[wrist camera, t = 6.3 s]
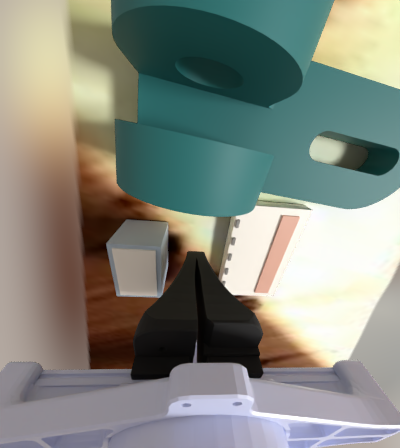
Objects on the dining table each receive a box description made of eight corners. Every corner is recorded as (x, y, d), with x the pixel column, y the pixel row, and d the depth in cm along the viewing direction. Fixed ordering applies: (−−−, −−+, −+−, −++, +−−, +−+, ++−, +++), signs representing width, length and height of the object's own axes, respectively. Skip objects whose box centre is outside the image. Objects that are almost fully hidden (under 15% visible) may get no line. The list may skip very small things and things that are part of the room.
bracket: (145, 162, 12) (79, 194, 5) (151, 35, 9) (0, -357, 2) (354, 205, 14) (510, 268, 7) (415, 115, 11) (785, 74, 4)
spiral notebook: (268, 287, 18) (274, 297, 17) (217, 285, 18) (218, 295, 17) (303, 204, 14) (314, 211, 12) (234, 199, 13) (238, 205, 12)
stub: (167, 266, 16) (161, 298, 13) (132, 264, 16) (116, 297, 13) (168, 222, 14) (160, 247, 11) (126, 219, 14) (105, 244, 10)
